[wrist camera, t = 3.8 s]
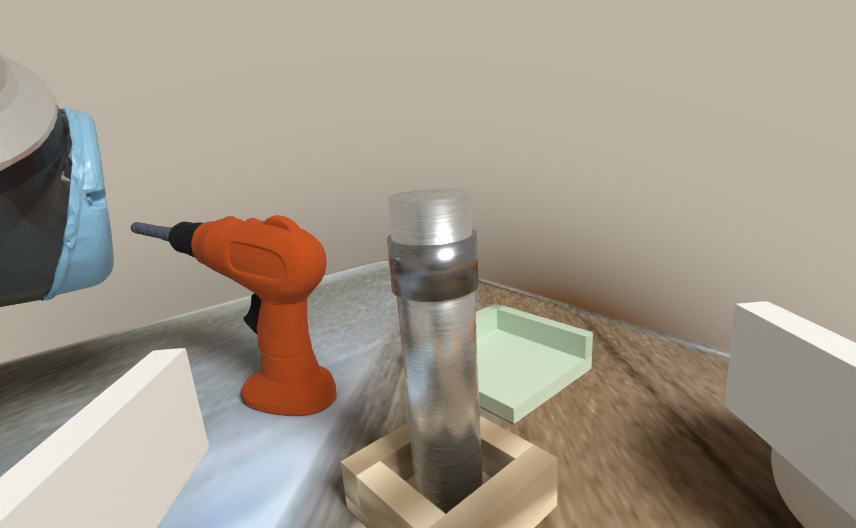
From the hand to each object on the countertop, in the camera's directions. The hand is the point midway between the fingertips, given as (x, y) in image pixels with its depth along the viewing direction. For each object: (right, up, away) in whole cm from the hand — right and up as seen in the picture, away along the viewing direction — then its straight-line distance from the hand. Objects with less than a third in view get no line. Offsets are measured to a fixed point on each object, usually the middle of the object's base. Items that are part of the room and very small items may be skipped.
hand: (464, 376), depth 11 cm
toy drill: (-16, -8, +27) cm, 32 cm away
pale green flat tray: (+5, -6, +27) cm, 28 cm away
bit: (0, -10, +14) cm, 17 cm away
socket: (0, -10, +14) cm, 17 cm away
